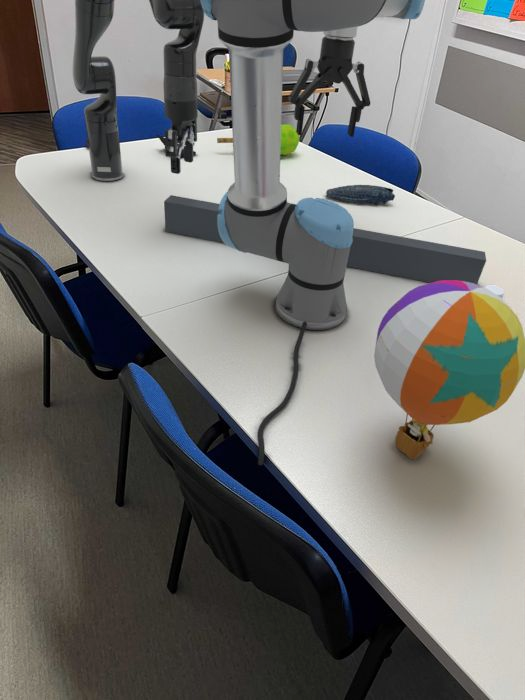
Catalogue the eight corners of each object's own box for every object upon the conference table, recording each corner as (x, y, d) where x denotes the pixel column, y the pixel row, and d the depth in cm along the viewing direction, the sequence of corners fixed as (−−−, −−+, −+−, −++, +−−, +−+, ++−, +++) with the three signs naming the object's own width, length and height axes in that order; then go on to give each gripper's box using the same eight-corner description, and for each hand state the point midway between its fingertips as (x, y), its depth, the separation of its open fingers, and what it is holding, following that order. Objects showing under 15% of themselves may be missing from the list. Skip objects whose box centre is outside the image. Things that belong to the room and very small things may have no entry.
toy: (324, 440, 84) (359, 279, 65) (398, 390, 94) (447, 240, 76) (424, 525, 73) (502, 362, 54) (495, 458, 83) (581, 302, 65)
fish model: (393, 208, 159) (397, 192, 156) (325, 201, 160) (327, 185, 157) (391, 200, 165) (395, 185, 161) (325, 193, 165) (328, 178, 162)
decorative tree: (214, 118, 187) (294, 118, 193) (214, 147, 194) (292, 146, 199) (220, 132, 174) (307, 132, 179) (220, 164, 180) (304, 162, 185)
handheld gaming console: (200, 148, 184) (184, 127, 176) (190, 164, 183) (174, 144, 175) (177, 144, 191) (162, 124, 182) (167, 160, 189) (151, 141, 181)
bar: (473, 282, 128) (485, 251, 123) (474, 291, 125) (486, 260, 119) (171, 224, 140) (170, 194, 135) (165, 231, 137) (163, 201, 131)
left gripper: (177, 87, 123) (178, 156, 133) (152, 100, 112) (156, 174, 122) (207, 91, 122) (206, 160, 132) (184, 105, 111) (186, 179, 121)
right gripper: (384, 38, 123) (366, 131, 136) (282, 31, 118) (273, 128, 132) (396, 43, 117) (376, 140, 130) (289, 36, 113) (279, 137, 126)
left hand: (182, 167), depth 127 cm, fingers open, 8 cm apart
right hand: (324, 134), depth 131 cm, fingers open, 13 cm apart
